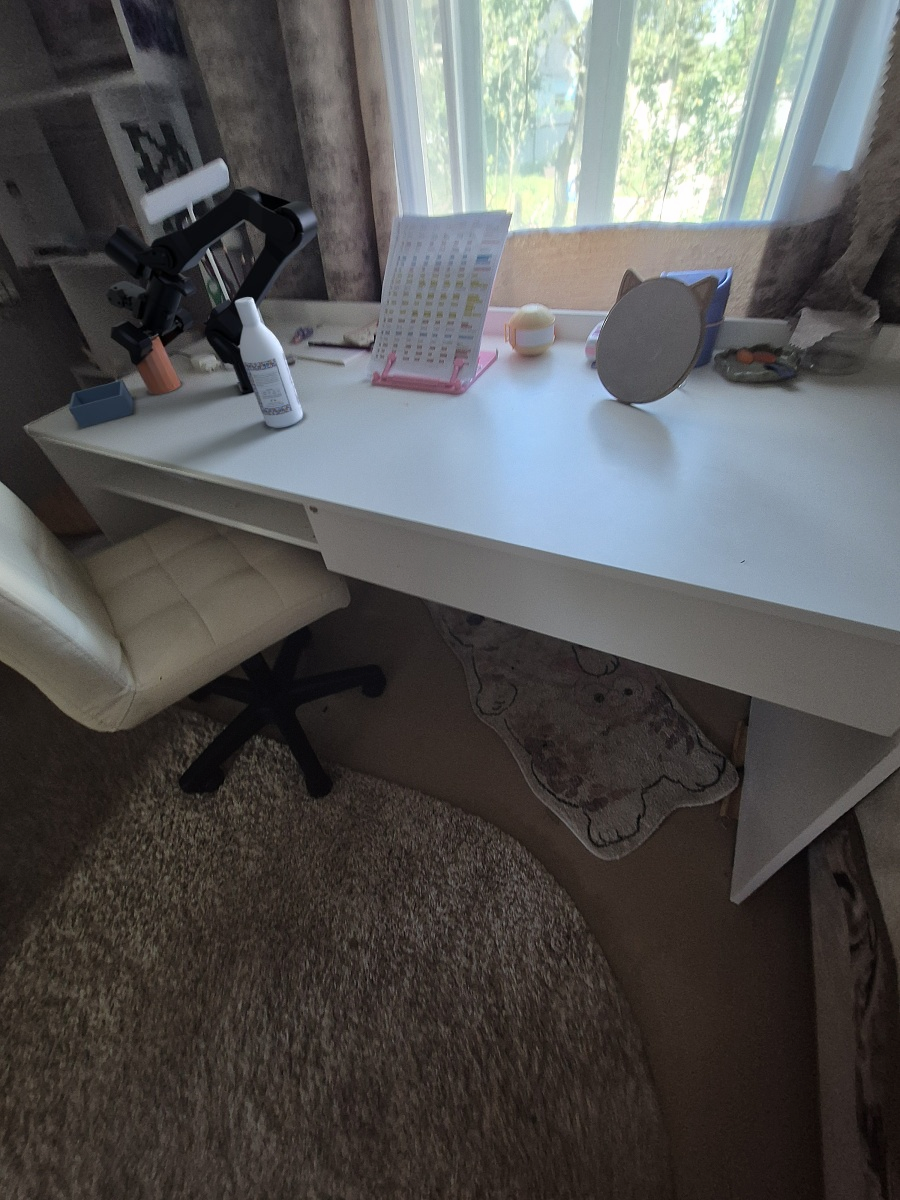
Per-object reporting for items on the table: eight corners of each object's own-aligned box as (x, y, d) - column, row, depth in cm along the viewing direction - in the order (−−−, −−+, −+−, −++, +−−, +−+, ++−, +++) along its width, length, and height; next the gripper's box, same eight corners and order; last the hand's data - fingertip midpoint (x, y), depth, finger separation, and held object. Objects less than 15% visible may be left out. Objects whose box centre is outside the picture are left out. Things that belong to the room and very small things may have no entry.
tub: (132, 414, 107) (122, 395, 105) (80, 428, 105) (68, 409, 102) (132, 398, 114) (122, 379, 112) (83, 411, 112) (72, 392, 109)
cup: (181, 388, 115) (159, 340, 108) (149, 397, 114) (124, 349, 107) (179, 379, 120) (158, 332, 113) (149, 387, 118) (125, 340, 111)
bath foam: (281, 410, 100) (241, 293, 86) (311, 413, 97) (274, 293, 84) (258, 427, 96) (212, 306, 82) (288, 430, 93) (246, 306, 79)
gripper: (153, 253, 106) (136, 315, 116) (88, 279, 93) (76, 346, 104) (203, 294, 110) (183, 351, 120) (147, 324, 97) (130, 385, 107)
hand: (144, 357), depth 112 cm, fingers closed on cup, 7 cm apart
